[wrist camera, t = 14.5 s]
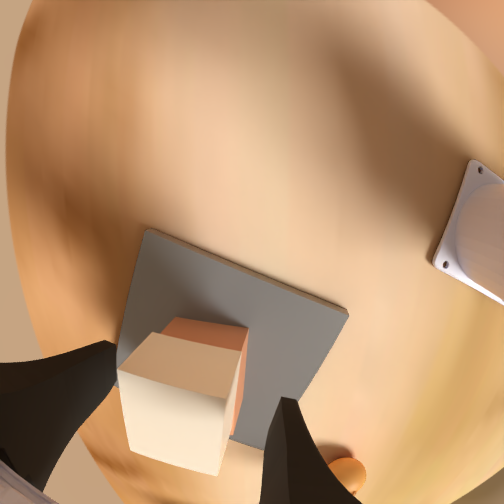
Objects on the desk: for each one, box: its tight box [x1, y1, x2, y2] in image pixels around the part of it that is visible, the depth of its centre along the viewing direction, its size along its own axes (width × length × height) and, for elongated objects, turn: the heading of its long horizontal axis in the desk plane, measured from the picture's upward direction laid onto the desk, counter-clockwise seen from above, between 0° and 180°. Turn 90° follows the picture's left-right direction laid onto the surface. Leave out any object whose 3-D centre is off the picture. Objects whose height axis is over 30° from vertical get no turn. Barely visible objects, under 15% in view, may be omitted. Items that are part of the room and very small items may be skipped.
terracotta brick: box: [160, 317, 249, 435], centre depth 18 cm, size 5×6×4 cm
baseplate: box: [114, 228, 349, 450], centre depth 21 cm, size 14×14×1 cm
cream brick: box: [117, 332, 242, 476], centre depth 14 cm, size 5×6×4 cm
